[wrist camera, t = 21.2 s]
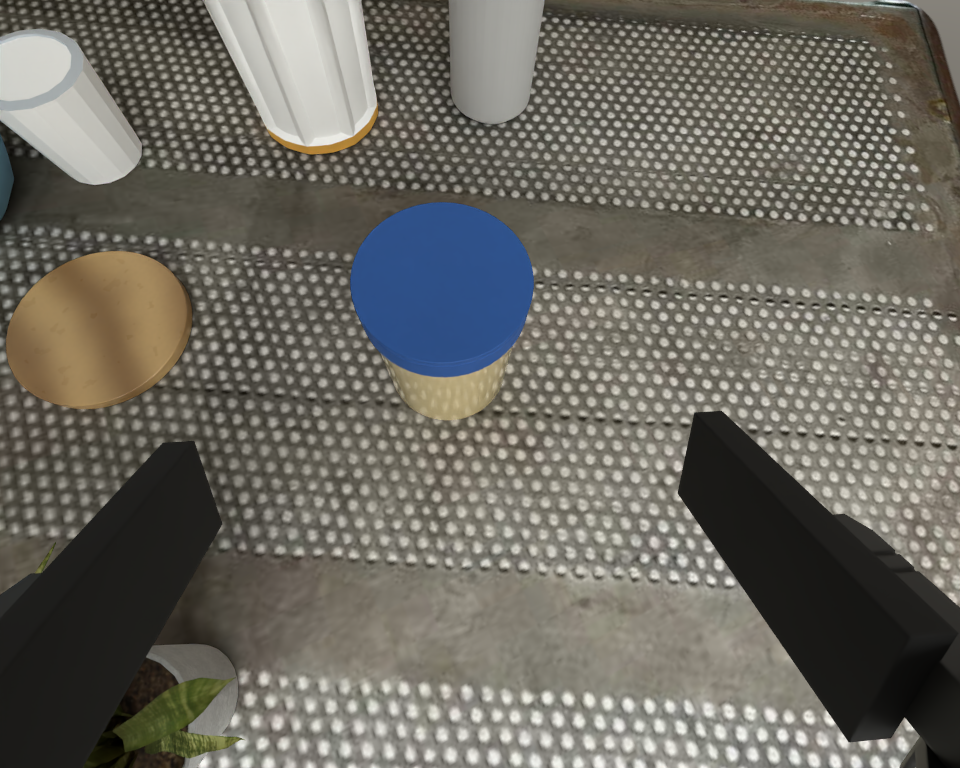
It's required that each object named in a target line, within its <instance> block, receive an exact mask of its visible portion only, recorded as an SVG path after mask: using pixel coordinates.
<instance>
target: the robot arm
mask: <svg viewBox="0 0 960 768" xmlns="http://www.w3.org/2000/svg"><path fill="white" fill-rule="evenodd" d="M678 494H679V496H680V497H681V499H682V500H683V502H684V503H685V505H686V506H687V507H688V509H689V510H690V512H691V513H692V515H693V516H694V518H695V519H696V521H697V522H698V523H699V525H700V526H701V528H702V529H703V531H704V532H705V534H706V535H707V537H708V538H709V539H710V541H711V542H712V544H713V545H714V547H715V548H716V550H717V551H718V553H719V554H720V555H721V557H722V558H723V560H724V561H725V563H726V564H727V566H728V567H729V569H730V570H731V571H732V573H733V574H734V576H735V577H736V579H737V580H738V582H739V583H740V585H741V586H742V587H743V589H744V590H745V592H746V593H747V595H748V596H749V598H750V599H751V601H752V602H753V603H754V605H755V606H756V608H757V609H758V611H759V612H760V614H761V615H762V617H763V618H764V619H765V621H766V622H767V624H768V625H769V627H770V628H771V630H772V631H773V633H774V634H775V635H776V637H777V638H778V640H779V641H780V643H781V644H782V646H783V647H784V649H785V650H786V651H787V653H788V654H789V656H790V657H791V659H792V660H793V662H794V663H795V665H796V666H797V667H798V669H799V670H800V672H801V673H802V675H803V676H804V678H805V679H806V681H807V682H808V683H809V685H810V686H811V688H812V689H813V691H814V692H815V694H816V695H817V697H818V698H819V699H820V701H821V702H822V704H823V705H824V707H825V708H826V710H827V711H828V713H829V714H830V715H831V717H832V718H833V720H834V721H835V723H836V724H837V726H838V727H839V729H840V730H841V731H842V733H843V734H844V736H845V737H846V739H847V740H848V742H857V741H867V740H876V739H886V738H891V737H892V735H893V734H894V732H895V731H896V729H897V728H898V726H899V725H900V723H901V722H902V720H903V718H904V717H905V718H906V719H907V720H908V722H909V723H910V724H911V725H912V727H913V728H914V729H915V730H916V731H917V733H918V734H919V735H920V737H919V739H918V740H917V742H916V743H915V745H914V746H913V748H912V749H911V750H910V752H909V753H908V755H907V756H906V758H905V759H904V760H903V762H902V763H901V765H900V768H915V767H916V768H960V607H959V606H957V605H956V604H955V603H954V602H953V601H952V600H951V599H949V598H948V597H947V596H946V595H945V594H944V593H943V592H942V591H940V590H939V589H938V588H937V587H936V586H935V585H934V584H933V583H931V582H930V581H929V580H928V579H927V578H926V577H925V576H924V575H922V574H921V573H920V572H919V571H917V572H916V571H915V570H914V567H913V566H912V565H911V564H910V563H909V562H908V561H907V560H905V559H904V558H903V557H902V556H901V555H900V554H896V553H895V550H894V549H893V548H892V547H891V546H890V545H889V544H887V543H886V542H885V541H884V540H883V539H882V538H881V537H880V536H878V535H877V534H876V533H875V532H874V531H873V530H871V529H869V528H868V527H866V526H864V525H863V524H861V523H859V522H857V521H856V520H854V519H852V518H850V517H849V516H847V515H845V514H837V515H832V514H831V513H830V512H829V511H828V510H827V509H826V508H825V507H824V506H823V505H822V504H821V503H819V502H818V501H817V500H816V499H815V498H814V497H813V496H812V495H811V494H810V493H809V492H808V491H807V490H806V489H805V488H803V487H802V486H801V485H800V484H799V483H798V482H797V481H796V480H795V479H794V478H793V477H792V476H791V475H790V474H789V473H787V472H786V471H785V470H784V469H783V468H782V467H781V466H780V465H779V464H778V463H777V462H776V461H775V460H774V459H773V458H771V457H770V456H769V455H768V454H767V453H766V452H765V451H764V450H763V449H762V448H761V447H760V446H759V445H758V444H756V443H755V442H754V441H753V440H752V439H751V438H750V437H749V436H748V435H747V434H746V433H745V432H744V431H743V430H742V429H740V428H739V427H738V426H737V425H736V424H735V423H734V422H733V421H732V420H731V419H730V418H729V417H728V416H727V415H726V414H724V413H723V412H722V411H714V412H696V413H694V418H693V422H692V427H691V432H690V437H689V441H688V446H687V451H686V456H685V461H684V465H683V470H682V475H681V480H680V485H679V489H678ZM221 525H222V521H221V518H220V516H219V513H218V510H217V507H216V504H215V501H214V498H213V495H212V492H211V489H210V486H209V483H208V480H207V477H206V474H205V472H204V469H203V466H202V463H201V460H200V457H199V454H198V451H197V448H196V445H195V442H194V441H187V442H169V443H162V444H161V445H160V447H159V448H158V449H157V450H156V451H155V452H154V453H153V454H152V455H151V456H150V457H149V458H148V459H147V461H146V462H145V463H144V464H143V465H142V466H141V467H140V468H139V469H138V470H137V471H136V472H135V473H134V475H133V476H132V477H131V478H130V479H129V480H128V481H127V482H126V483H125V484H124V485H123V486H122V487H121V489H120V490H119V491H118V492H117V493H116V494H115V495H114V496H113V497H112V498H111V499H110V500H109V501H108V503H107V504H106V505H105V506H104V507H103V508H102V509H101V510H100V511H99V512H98V513H97V514H96V515H95V517H94V518H93V519H92V520H91V521H90V522H89V523H88V524H87V525H86V526H85V527H84V528H83V529H82V531H81V532H80V533H79V534H78V535H77V536H76V537H75V538H74V539H73V540H72V541H71V542H70V543H69V545H68V546H67V547H66V548H65V549H64V550H63V551H62V552H61V553H60V554H59V555H58V556H57V557H56V559H55V560H54V561H53V562H52V563H51V564H50V565H49V566H48V567H47V568H46V569H45V570H44V571H43V573H33V574H29V575H28V576H27V577H25V578H24V579H22V580H21V581H19V582H18V583H17V584H15V585H14V586H12V587H11V588H9V589H8V590H7V591H5V592H4V593H2V594H1V595H0V768H83V766H84V765H85V763H86V761H87V759H88V758H89V756H90V754H91V752H92V751H93V749H94V747H95V745H96V744H97V742H98V740H99V738H100V737H101V735H102V733H103V731H104V730H105V728H106V726H107V724H108V723H109V721H110V719H111V717H112V716H113V714H114V712H115V710H116V709H117V707H118V705H119V703H120V702H121V700H122V698H123V696H124V695H125V693H126V691H127V689H128V688H129V686H130V684H131V682H132V681H133V679H134V677H135V675H136V674H137V672H138V670H139V668H140V667H141V665H142V663H143V662H144V660H145V658H146V656H147V655H148V653H149V651H150V649H151V648H152V646H153V644H154V642H155V641H156V639H157V637H158V635H159V634H160V632H161V630H162V628H163V627H164V625H165V623H166V621H167V620H168V618H169V616H170V614H171V613H172V611H173V609H174V607H175V606H176V604H177V602H178V600H179V599H180V597H181V595H182V593H183V592H184V590H185V588H186V586H187V585H188V583H189V581H190V579H191V578H192V576H193V574H194V572H195V571H196V569H197V567H198V565H199V564H200V562H201V560H202V558H203V557H204V555H205V553H206V552H207V550H208V548H209V546H210V545H211V543H212V541H213V539H214V538H215V536H216V534H217V532H218V531H219V529H220V527H221Z"/></svg>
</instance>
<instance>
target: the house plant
mask: <svg viewBox="0 0 960 768" xmlns="http://www.w3.org/2000/svg"><path fill="white" fill-rule="evenodd" d="M57 539H58V538H57ZM55 544H56V542H55V543H54V545H53V547H52V548H51V550H50V551H49V553H48V554H47V556H46V557H45V559H44V560H43V562H42V563H41V565H40V566H39V568H38V569H37V571H36V572H35V573H42V571H43V569H44V567H45V565H46V563H47V561H48V559H49V557H50V555H51V553H52V551H53V549H54V546H55ZM237 699H238V679H237V676H236V672H235V668H234V667H233V665H232V663H231V662H230V660H229V659H228V657H227V656H226V655H224V654H223V653H222V652H221V651H220V650H219V649H216V648H214V647H211V646H209V645H203V644H177V645H153V646H152V648H151V649H150V651H149V653H148V655H147V656H146V658H145V660H144V662H143V663H142V665H141V667H140V668H139V670H138V672H137V674H136V675H135V677H134V679H133V681H132V682H131V684H130V686H129V688H128V689H127V691H126V693H125V695H124V696H123V698H122V700H121V702H120V703H119V705H118V707H117V709H116V710H115V712H114V714H113V716H112V717H111V719H110V721H109V723H108V724H107V726H106V728H105V730H104V731H103V733H102V735H101V737H100V738H99V740H98V742H97V744H96V745H95V747H94V749H93V751H92V752H91V754H90V756H89V758H88V759H87V761H86V763H85V765H84V766H83V768H197V766H198V765H199V764H200V762H201V761H202V760H203V758H204V757H205V756H206V754H207V753H208V752H210V751H216V750H221V749H225V748H228V747H229V746H231V745H232V744H234V743H235V742H237V741H239V740H244V739H242V738H238V737H224V736H220V735H221V734H222V733H223V731H224V730H225V729H226V727H227V726H228V725H229V723H230V720H231V718H232V716H233V714H234V711H235V708H236V704H237Z"/></svg>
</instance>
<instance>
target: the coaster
mask: <svg viewBox="0 0 960 768" xmlns="http://www.w3.org/2000/svg"><path fill="white" fill-rule="evenodd" d="M191 327H192V306H191V302H190V298H189V295H188V293H187V291H186V289H185V287H184V285H183V284H182V283H181V281H180V280H179V279H178V278H177V277H176V276H175V275H174V274H173V273H172V272H171V271H170V270H169V269H168V268H167V267H165V266H164V265H163V264H161V263H160V262H158V261H156V260H154V259H152V258H150V257H147V256H145V255H142V254H137V253H133V252H126V251H106V252H98V253H93V254H89V255H85V256H82V257H79V258H76V259H74V260H71V261H69V262H67V263H65V264H63V265H61V266H59V267H57V268H56V269H54V270H53V271H51V272H50V273H48V274H47V275H45V276H44V277H43V278H42V279H41V280H39V281H38V282H37V283H36V284H35V285H34V286H33V287H32V288H31V289H30V290H29V291H28V292H27V294H26V295H25V296H24V297H23V299H22V300H21V301H20V303H19V305H18V306H17V308H16V310H15V312H14V314H13V316H12V318H11V321H10V324H9V327H8V331H7V337H6V353H7V359H8V363H9V365H10V368H11V370H12V372H13V374H14V376H15V377H16V379H17V380H18V381H19V382H20V384H21V385H22V386H23V387H24V388H25V389H27V390H28V391H29V392H30V393H32V394H33V395H35V396H37V397H38V398H40V399H43V400H45V401H48V402H50V403H53V404H56V405H59V406H63V407H67V408H75V409H95V408H102V407H108V406H112V405H116V404H119V403H122V402H124V401H127V400H129V399H132V398H134V397H136V396H138V395H140V394H141V393H143V392H144V391H146V390H148V389H149V388H151V387H152V386H153V385H155V384H156V383H157V382H158V381H160V380H161V379H162V378H163V377H164V376H165V375H166V374H167V373H168V372H169V371H170V370H171V368H172V367H173V366H174V365H175V364H176V362H177V361H178V359H179V358H180V356H181V354H182V353H183V351H184V349H185V347H186V345H187V342H188V339H189V336H190V333H191Z"/></svg>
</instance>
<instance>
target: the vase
mask: <svg viewBox="0 0 960 768" xmlns="http://www.w3.org/2000/svg"><path fill="white" fill-rule="evenodd" d="M13 182H14V176H13V172H12V168H11V164H10V160H9V156H8V153H7V150H6V148H5V145H4V142H3V139H2V137H1V134H0V220H1V219H2V218H3V216H4V214H5V212H6V209H7V206H8V202H9V198H10V194H11V190H12V186H13Z"/></svg>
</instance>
